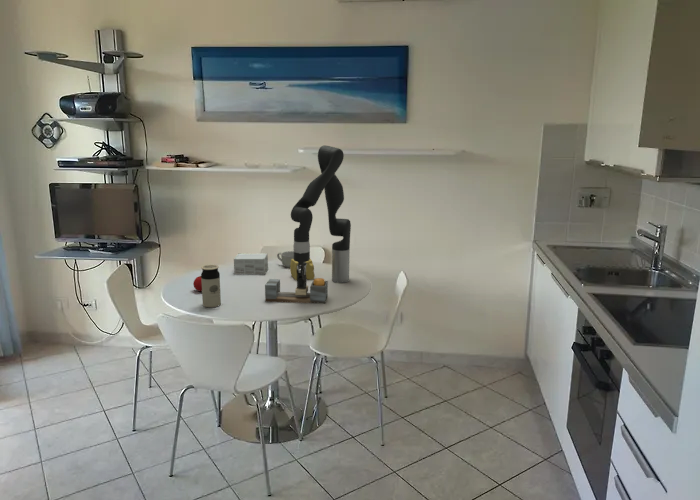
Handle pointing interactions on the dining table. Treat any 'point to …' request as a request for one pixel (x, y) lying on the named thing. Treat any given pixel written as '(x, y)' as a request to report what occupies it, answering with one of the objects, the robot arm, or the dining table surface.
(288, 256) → the teacup
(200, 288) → the tomato
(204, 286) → the travel mug
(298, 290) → the carriage
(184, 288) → the dining table surface
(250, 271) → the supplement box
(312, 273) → the cheese
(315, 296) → the stand
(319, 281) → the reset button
